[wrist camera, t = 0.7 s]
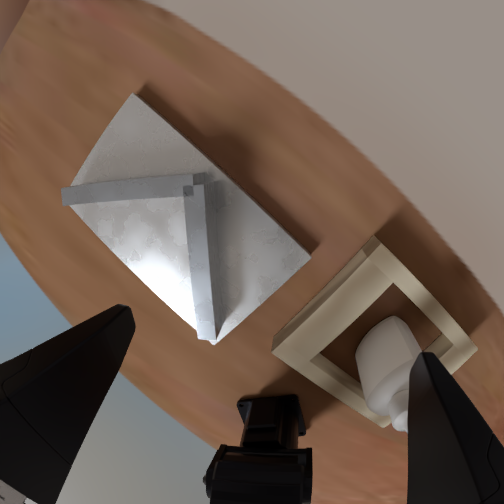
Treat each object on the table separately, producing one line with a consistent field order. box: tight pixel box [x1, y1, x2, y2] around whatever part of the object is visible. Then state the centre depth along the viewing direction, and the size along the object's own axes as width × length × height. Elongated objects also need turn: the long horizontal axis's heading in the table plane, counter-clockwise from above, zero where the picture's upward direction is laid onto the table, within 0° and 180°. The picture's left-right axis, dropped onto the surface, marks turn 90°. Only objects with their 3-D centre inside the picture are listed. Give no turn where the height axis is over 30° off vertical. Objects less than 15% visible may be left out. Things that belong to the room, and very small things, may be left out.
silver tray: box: [61, 93, 312, 345], centre depth 24 cm, size 12×20×4 cm, turn 48°
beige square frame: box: [271, 235, 478, 428], centre depth 26 cm, size 16×13×2 cm
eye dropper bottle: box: [355, 316, 422, 434], centre depth 21 cm, size 4×6×12 cm
